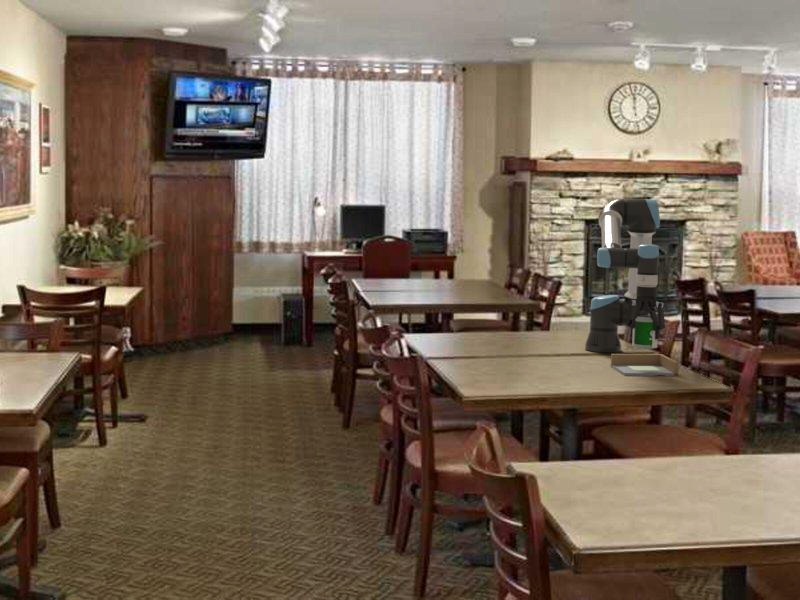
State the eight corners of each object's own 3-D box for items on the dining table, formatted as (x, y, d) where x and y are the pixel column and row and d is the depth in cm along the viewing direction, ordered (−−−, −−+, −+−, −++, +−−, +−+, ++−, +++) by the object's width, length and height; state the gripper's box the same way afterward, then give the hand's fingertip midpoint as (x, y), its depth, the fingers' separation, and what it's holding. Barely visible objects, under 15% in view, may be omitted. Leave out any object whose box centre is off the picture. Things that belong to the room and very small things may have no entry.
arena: (610, 366, 409) (611, 353, 409) (661, 366, 411) (662, 354, 410) (624, 375, 390) (625, 362, 389) (678, 375, 391) (678, 362, 390)
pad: (627, 366, 405) (627, 365, 405) (652, 366, 405) (652, 365, 405) (634, 370, 395) (634, 370, 395) (660, 370, 395) (660, 370, 395)
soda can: (644, 350, 394) (646, 318, 393) (630, 347, 400) (631, 316, 399) (659, 348, 398) (660, 317, 397) (644, 346, 404) (645, 315, 403)
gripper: (617, 284, 401) (615, 344, 403) (667, 288, 387) (664, 350, 390) (627, 283, 406) (625, 342, 409) (676, 287, 393) (674, 348, 395)
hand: (644, 346), depth 399 cm, fingers closed on soda can, 7 cm apart
